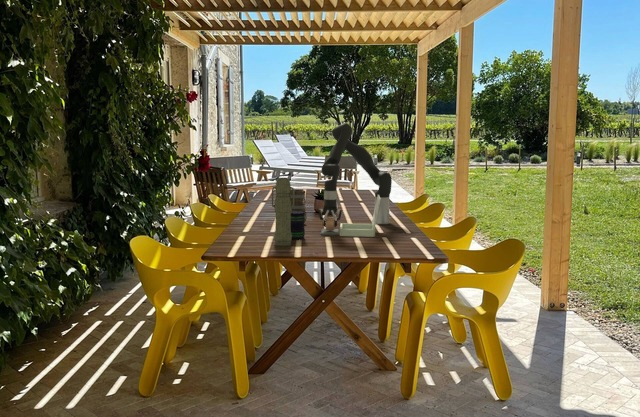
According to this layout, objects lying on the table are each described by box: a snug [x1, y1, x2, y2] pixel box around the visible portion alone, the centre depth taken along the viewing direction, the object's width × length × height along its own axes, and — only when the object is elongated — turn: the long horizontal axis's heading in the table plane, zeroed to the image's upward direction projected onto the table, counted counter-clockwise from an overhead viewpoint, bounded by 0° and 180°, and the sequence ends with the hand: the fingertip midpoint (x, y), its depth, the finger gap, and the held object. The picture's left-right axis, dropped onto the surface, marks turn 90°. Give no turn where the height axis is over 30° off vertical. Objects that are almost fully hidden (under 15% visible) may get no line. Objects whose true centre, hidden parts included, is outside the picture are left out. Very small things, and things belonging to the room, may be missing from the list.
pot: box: [325, 216, 335, 231], centre depth 338 cm, size 6×6×7 cm
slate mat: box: [320, 228, 340, 236], centre depth 338 cm, size 10×16×1 cm, turn 177°
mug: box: [290, 189, 306, 212], centre depth 425 cm, size 20×14×15 cm
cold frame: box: [339, 195, 381, 238], centre depth 336 cm, size 23×20×22 cm
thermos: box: [271, 177, 296, 247], centre depth 300 cm, size 9×12×35 cm
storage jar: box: [291, 211, 306, 241], centre depth 318 cm, size 10×10×15 cm
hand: (330, 226), depth 338 cm, fingers closed on pot, 5 cm apart
